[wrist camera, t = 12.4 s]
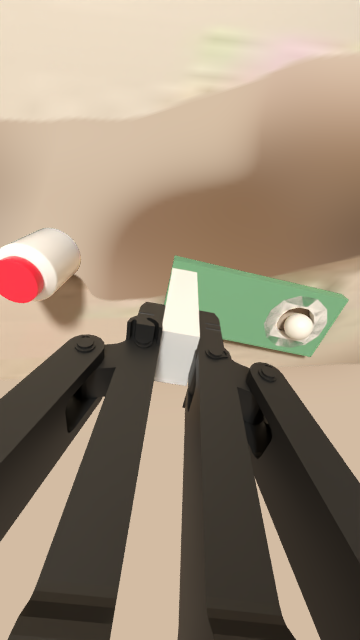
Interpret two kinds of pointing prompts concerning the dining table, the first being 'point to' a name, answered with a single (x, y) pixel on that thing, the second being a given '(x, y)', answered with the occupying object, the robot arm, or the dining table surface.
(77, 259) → the pill bottle
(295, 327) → the ball
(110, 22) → the dining table surface
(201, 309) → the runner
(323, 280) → the dining table surface
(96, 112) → the dining table surface
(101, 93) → the dining table surface
